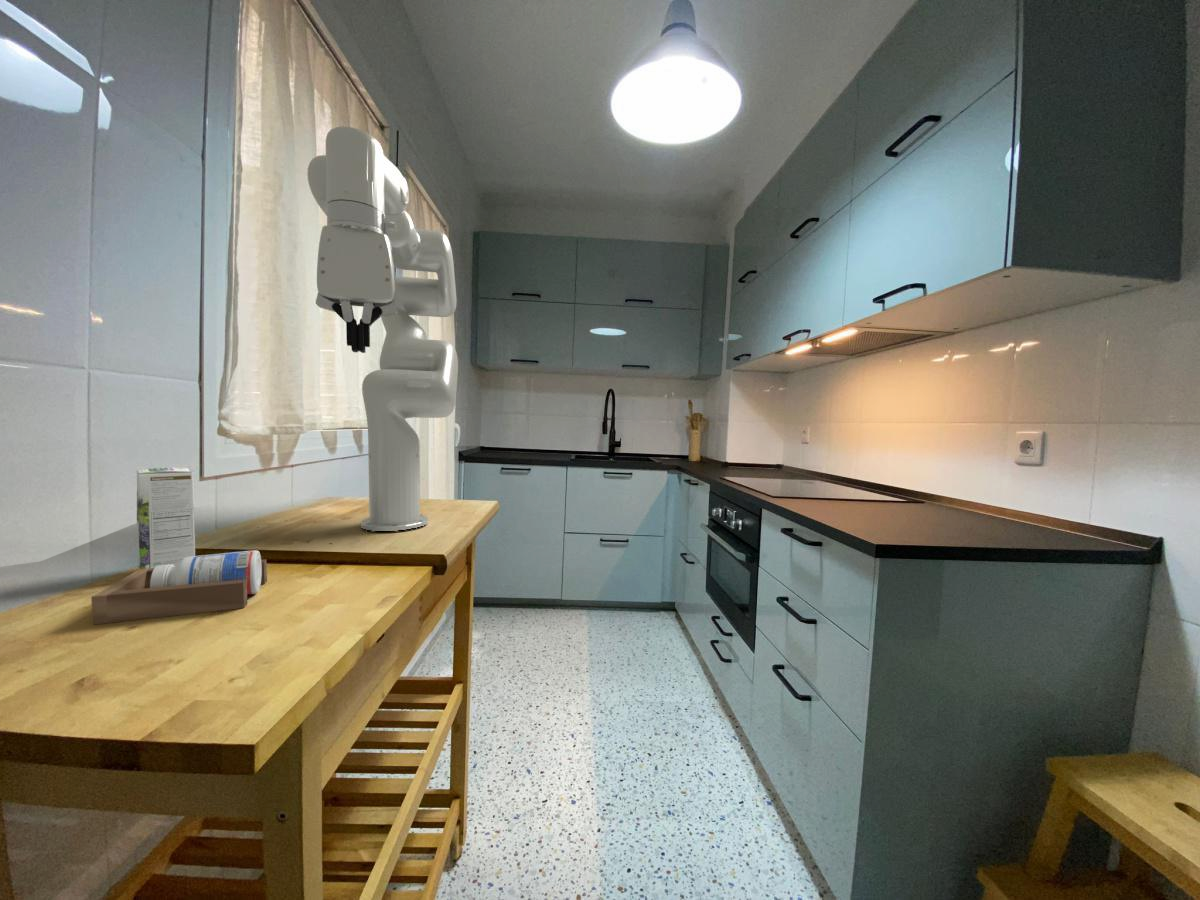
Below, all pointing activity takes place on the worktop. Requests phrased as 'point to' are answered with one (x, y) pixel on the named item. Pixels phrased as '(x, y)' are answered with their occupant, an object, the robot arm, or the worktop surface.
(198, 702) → the worktop surface
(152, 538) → the syrup box
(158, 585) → the pill bottle
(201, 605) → the cradle
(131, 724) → the worktop surface
